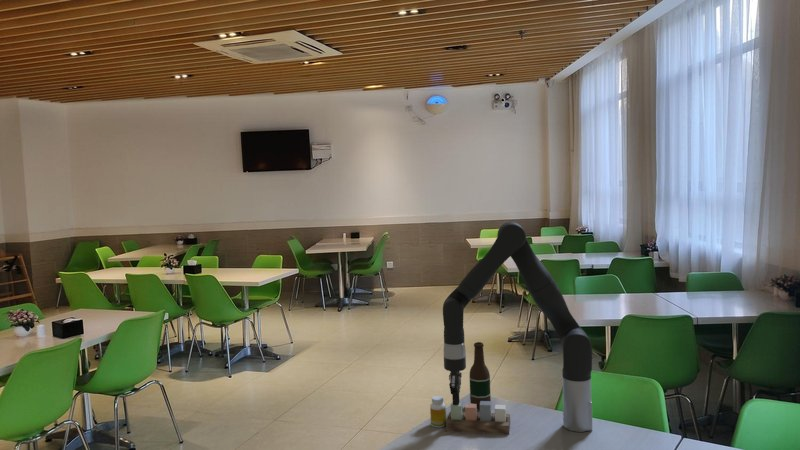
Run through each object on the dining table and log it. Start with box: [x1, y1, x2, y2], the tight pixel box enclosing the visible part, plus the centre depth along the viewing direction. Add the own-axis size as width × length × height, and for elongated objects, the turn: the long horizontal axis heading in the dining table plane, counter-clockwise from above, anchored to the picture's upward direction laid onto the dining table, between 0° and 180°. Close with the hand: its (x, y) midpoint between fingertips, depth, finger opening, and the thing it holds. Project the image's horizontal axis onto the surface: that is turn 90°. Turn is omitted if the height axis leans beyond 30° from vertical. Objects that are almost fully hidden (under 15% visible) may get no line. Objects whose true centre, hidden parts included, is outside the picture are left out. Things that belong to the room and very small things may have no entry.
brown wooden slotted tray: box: [445, 410, 511, 435], centre depth 210 cm, size 21×10×3 cm, turn 78°
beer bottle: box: [469, 341, 492, 410], centre depth 228 cm, size 8×8×24 cm
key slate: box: [479, 401, 492, 421], centre depth 209 cm, size 4×4×6 cm
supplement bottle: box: [429, 395, 447, 428], centre depth 213 cm, size 5×5×10 cm
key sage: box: [450, 401, 464, 420], centre depth 212 cm, size 4×4×6 cm
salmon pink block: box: [464, 403, 478, 421], centre depth 211 cm, size 4×4×6 cm
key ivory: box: [494, 404, 507, 422], centre depth 209 cm, size 4×4×6 cm
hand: (456, 403), depth 211 cm, fingers closed
